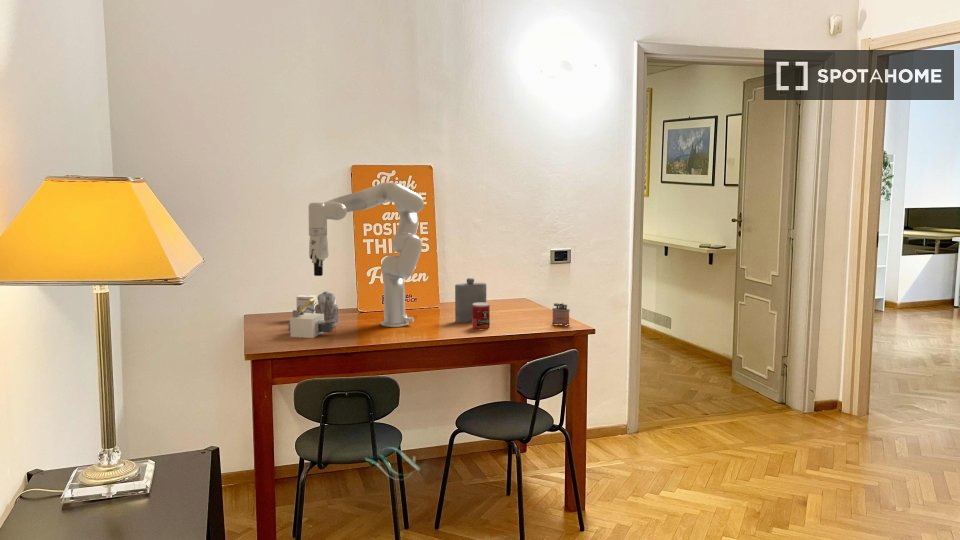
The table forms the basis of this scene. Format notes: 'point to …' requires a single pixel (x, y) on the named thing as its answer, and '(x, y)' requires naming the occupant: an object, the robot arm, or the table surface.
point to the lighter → (560, 314)
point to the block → (304, 324)
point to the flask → (468, 299)
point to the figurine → (327, 308)
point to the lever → (305, 306)
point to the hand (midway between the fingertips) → (318, 275)
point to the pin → (320, 327)
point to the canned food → (481, 315)
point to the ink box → (303, 299)
